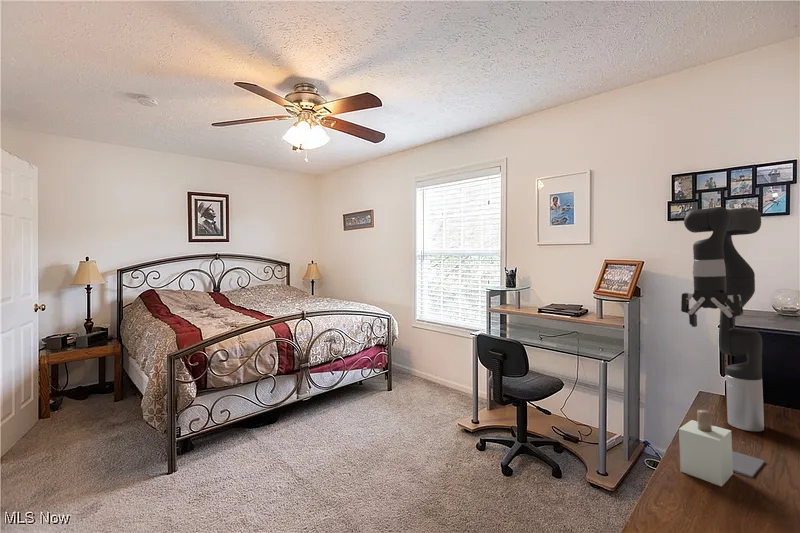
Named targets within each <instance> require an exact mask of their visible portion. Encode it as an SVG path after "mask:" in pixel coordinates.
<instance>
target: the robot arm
mask: <svg viewBox="0 0 800 533" xmlns="http://www.w3.org/2000/svg"><path fill="white" fill-rule="evenodd" d="M683 223H684V227H685V228H686V230H688V231H689V232H690V233H693V234H694V233H695V234H696V233H707V232H712V234H711V235H710V237H709V236H708V238H705V239H700V240H697V241H695V242H693V245H692V247H693V248H692V250H693V251H692V252H693V265H692V276H693V293H689V292H684V293H682V294H681V301H680V302H681V303H680V304H681V307H680V308H681V309H680V311H681V312H682V313H686V314H688V321H689V322H688V323H689V325H690V326H691V327H693V328H696V327H698V314H696V313H697V312H698V311H699V310H700V309H701V308H703V309H714V310H715V309H719V314H720V315H719V327H718V347H719V348H718V349H719V351H720V353H721V354H723V355H727V356H728V355H729V356H735V357H742V358H747V360H746V361H745V362H742V363H735V364H728V365H726V367H725V385H726V386H725V388H726V408H727V409H726V411H727V423H728V424H729V425H730V426H731V427H733V428H737V429H738V430H739V429H740V430H742V431H749V432H763V431H764V430H765V422H764V421H765V420H764V419H765V417H764V416H765V415H764V414H765V413H764V396H763V395H764V392H763V391H764V390H763V387H764V386H763V364H762V363H763V338H762V336H761V333H759V331H757V330H749V329H748V330H747V329H739V328H735V327H736V317H738V316H739V317H740V316H742V315H743V314H744V309H743V308H744V307H745V306H746V304H747V303H748V302H749V301H750V300H751V299H752V298H753V296H754V294H755V292H756V279H755V278H756V276H755V275H756V274H755V271H754V270H753V268H752V267H751V264H749V263H748V262H747V261H746V260H745V259H744V257H743V256H742V255H741V254H740V253H739V252H738V250H737V249H736V247H735V244H734V243H733V239H732V236H744V235H751V234H755V233H757V232H758V231H759V230H760V228H761V226H762V215H761V212H760V211H759V210H758V209H757V208H755V207H743V208H742V207H740V208H732V209H731V208H730V209H727V208H725V207H723V206H715V207H708V208H698V209H693V210H690V211H688V212H687V213H686V215H685V216H684V219H683ZM692 298H693V300H695V303H694V305H692V307H691V308H690V301H691V300H692Z"/></svg>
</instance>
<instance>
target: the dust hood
mask: <svg viewBox="0 0 800 533" xmlns="http://www.w3.org/2000/svg"><path fill="white" fill-rule="evenodd" d="M696 414H697V415H696V416H697V417H696V418H697V421H696V420H693V419H691V420H689V421H688V422H687V423H685V424H683V425H682V426H681V427H679V428H678V438H679V442H678V443H679V462H680V464H679V465H680V466H679V467H680V472H681V473H685V474H686V475H689V476H692V477H695V478H698V479H700V480H703V481H706V482H709V483H711V484H713V485H716V486H719V487H721V488H722V486H724V485H725V484H726V482H728V480H729V479H730V478H731V477H732V476H733V475H734V472H733V460H732V451H733V440H732V436H733V435H732V430H730V429H727V428H723V427H719V426H716V425H712V423H713V422H712V412H711V411H710V410H707V409H697V410H696Z"/></svg>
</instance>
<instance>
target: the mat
mask: <svg viewBox="0 0 800 533" xmlns="http://www.w3.org/2000/svg"><path fill="white" fill-rule="evenodd" d="M732 460H733V473H737V474H739V475H742V476H745V477H748V478H750V479H752V478H754V476H755V475H756V474H757V473H758V472H759V470H760V469H761V468H762V467H763V466H764V465H765V460H763V459H762V458H761V459H760V458H757V457H754V456H751V455H748V454H745V453H741V452H737V451H734V450H732Z"/></svg>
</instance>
